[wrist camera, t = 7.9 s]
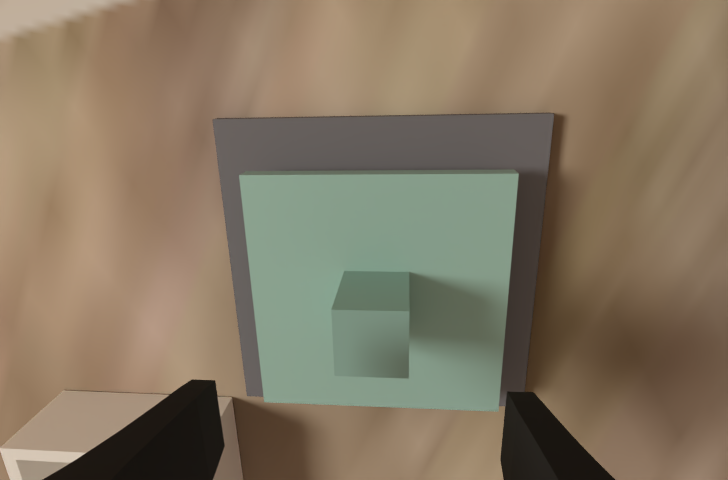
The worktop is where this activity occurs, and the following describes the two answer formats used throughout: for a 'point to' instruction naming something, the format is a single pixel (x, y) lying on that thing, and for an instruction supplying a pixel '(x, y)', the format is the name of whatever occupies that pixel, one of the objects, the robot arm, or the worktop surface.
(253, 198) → the lid
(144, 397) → the storage box
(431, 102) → the worktop surface
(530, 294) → the mat
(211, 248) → the worktop surface
